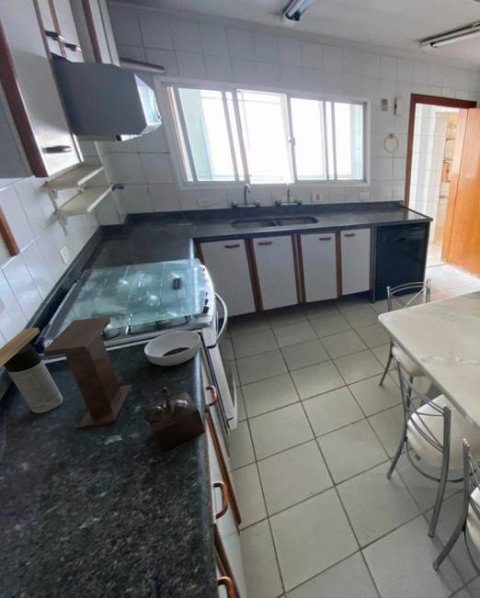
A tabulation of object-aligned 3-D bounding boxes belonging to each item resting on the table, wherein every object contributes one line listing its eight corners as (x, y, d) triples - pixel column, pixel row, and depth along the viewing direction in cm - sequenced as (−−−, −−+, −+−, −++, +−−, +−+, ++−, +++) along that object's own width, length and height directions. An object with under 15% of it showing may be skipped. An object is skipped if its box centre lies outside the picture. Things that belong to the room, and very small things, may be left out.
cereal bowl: (149, 379, 110) (143, 362, 107) (150, 354, 123) (144, 338, 119) (206, 363, 119) (202, 347, 116) (202, 341, 131) (197, 325, 128)
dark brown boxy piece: (150, 435, 90) (127, 384, 82) (194, 414, 97) (178, 365, 89) (166, 472, 80) (143, 419, 72) (214, 445, 87) (198, 394, 79)
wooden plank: (-23, 375, 78) (-26, 370, 77) (26, 333, 94) (24, 328, 94) (-6, 373, 79) (-9, 368, 78) (40, 331, 95) (38, 327, 95)
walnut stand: (79, 431, 89) (42, 351, 78) (102, 393, 103) (73, 320, 92) (115, 424, 92) (85, 346, 81) (133, 388, 105) (109, 316, 95)
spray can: (59, 394, 100) (28, 339, 92) (68, 403, 97) (37, 347, 88) (29, 407, 95) (-7, 351, 86) (37, 417, 92) (1, 360, 83)
